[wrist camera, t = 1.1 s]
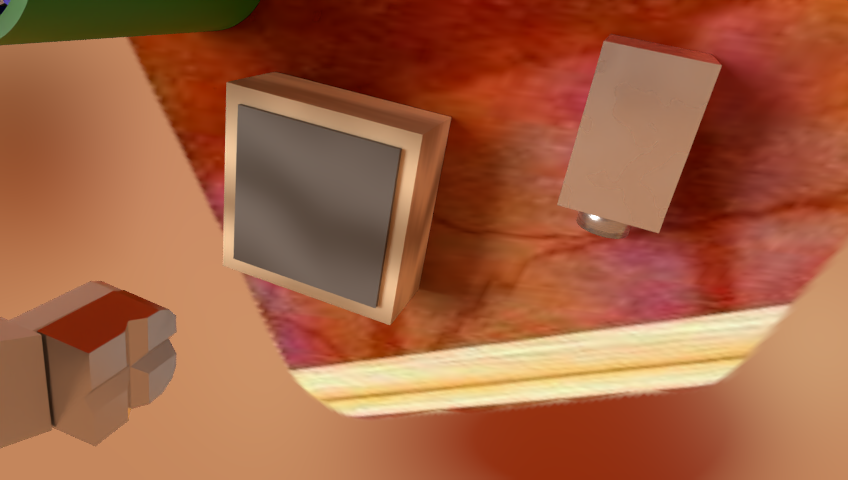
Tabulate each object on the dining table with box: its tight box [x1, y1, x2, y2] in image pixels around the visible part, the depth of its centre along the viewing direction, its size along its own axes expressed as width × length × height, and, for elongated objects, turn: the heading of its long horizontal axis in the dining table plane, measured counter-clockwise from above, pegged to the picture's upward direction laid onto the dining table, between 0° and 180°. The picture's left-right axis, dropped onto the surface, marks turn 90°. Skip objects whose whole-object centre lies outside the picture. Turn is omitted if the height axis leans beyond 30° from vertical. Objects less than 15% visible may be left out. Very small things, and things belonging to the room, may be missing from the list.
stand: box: [223, 72, 451, 325], centre depth 37 cm, size 12×12×5 cm
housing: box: [557, 34, 722, 239], centre depth 30 cm, size 9×5×5 cm, turn 170°
